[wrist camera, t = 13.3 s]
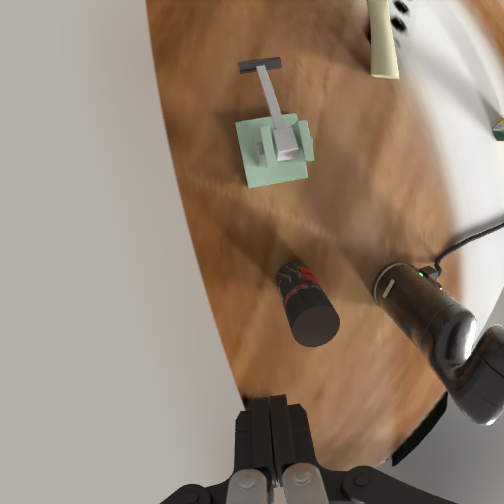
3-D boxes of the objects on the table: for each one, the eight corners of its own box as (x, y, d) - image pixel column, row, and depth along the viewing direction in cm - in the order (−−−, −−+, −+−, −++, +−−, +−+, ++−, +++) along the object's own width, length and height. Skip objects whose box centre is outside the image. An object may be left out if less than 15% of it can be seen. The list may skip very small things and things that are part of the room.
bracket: (235, 123, 39) (234, 104, 25) (294, 114, 38) (319, 93, 25) (248, 187, 42) (253, 198, 28) (306, 177, 42) (336, 183, 28)
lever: (238, 70, 32) (236, 58, 29) (278, 64, 32) (278, 52, 29) (262, 164, 30) (262, 154, 27) (310, 156, 30) (314, 146, 27)
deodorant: (269, 274, 46) (283, 323, 32) (300, 255, 45) (327, 296, 31) (287, 301, 48) (305, 354, 33) (317, 282, 47) (346, 330, 33)
